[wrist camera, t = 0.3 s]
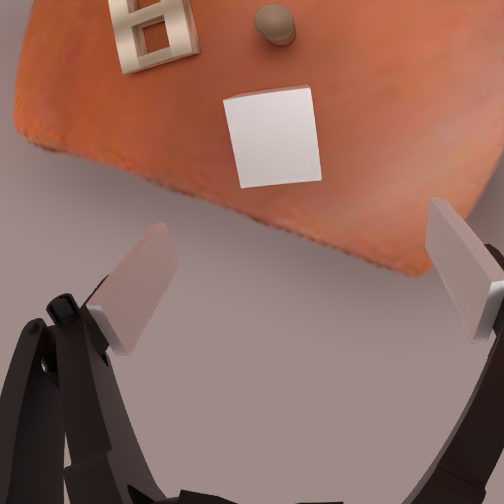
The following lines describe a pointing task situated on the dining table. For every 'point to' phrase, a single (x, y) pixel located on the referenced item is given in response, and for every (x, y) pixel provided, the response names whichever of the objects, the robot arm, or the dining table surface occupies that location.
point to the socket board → (134, 20)
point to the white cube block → (274, 136)
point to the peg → (276, 24)
